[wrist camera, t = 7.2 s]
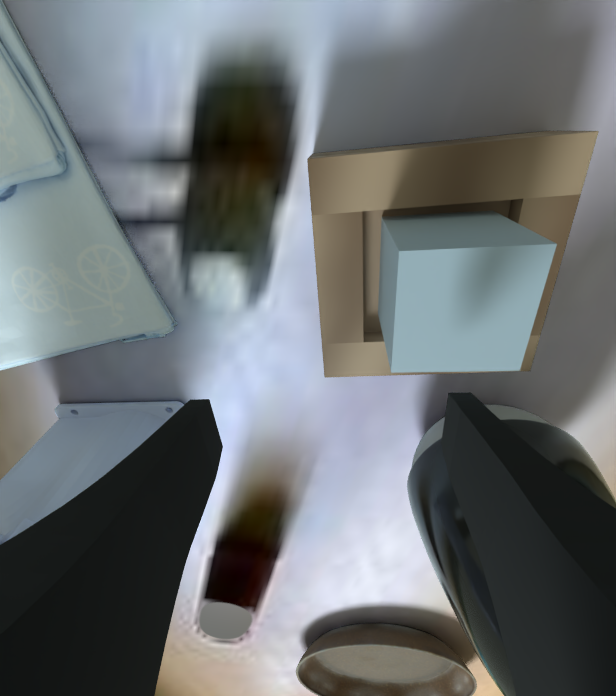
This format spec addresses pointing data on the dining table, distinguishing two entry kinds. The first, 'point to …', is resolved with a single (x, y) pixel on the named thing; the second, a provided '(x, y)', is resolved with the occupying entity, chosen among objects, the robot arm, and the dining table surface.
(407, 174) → the square wooden tray
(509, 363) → the blue block
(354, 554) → the dining table surface
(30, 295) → the paper napkin stack
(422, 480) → the dark grey egg shape
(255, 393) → the dining table surface
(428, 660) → the plant saucer
